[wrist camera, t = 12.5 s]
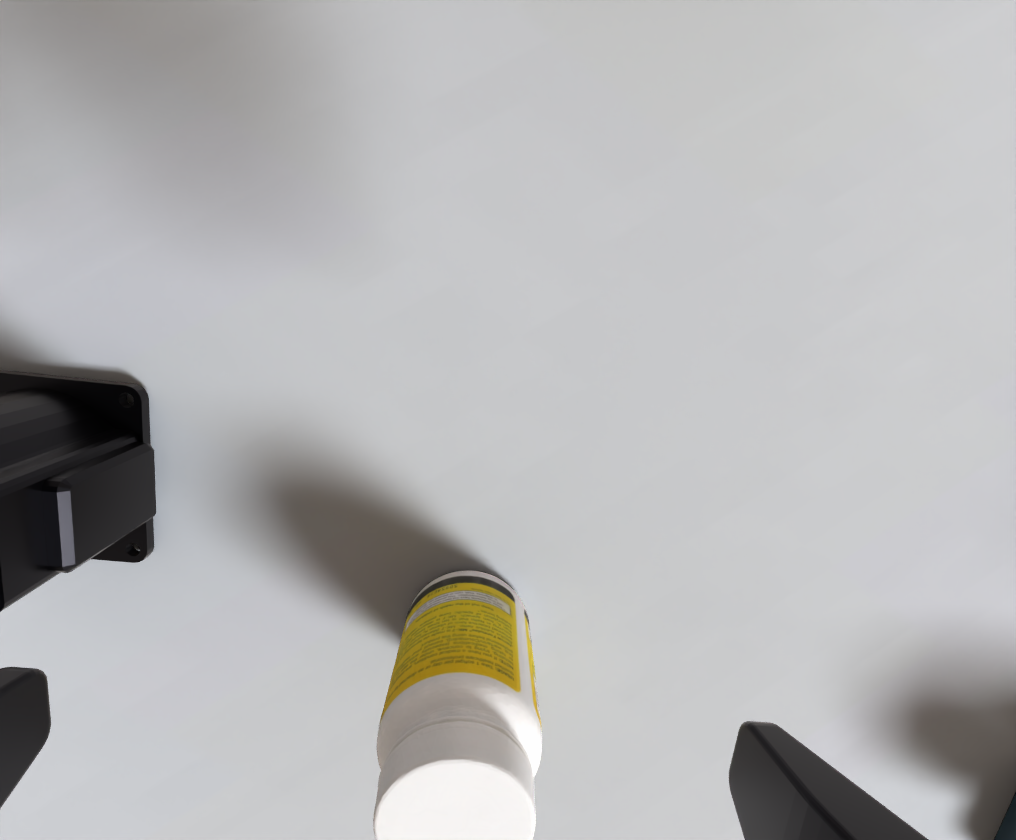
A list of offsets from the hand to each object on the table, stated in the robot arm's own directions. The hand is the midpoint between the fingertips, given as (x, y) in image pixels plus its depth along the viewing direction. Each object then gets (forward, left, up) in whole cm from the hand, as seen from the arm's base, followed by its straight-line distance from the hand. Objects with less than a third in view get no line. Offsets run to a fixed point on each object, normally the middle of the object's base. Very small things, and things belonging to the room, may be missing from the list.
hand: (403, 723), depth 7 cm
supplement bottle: (+1, -7, -13) cm, 15 cm away
